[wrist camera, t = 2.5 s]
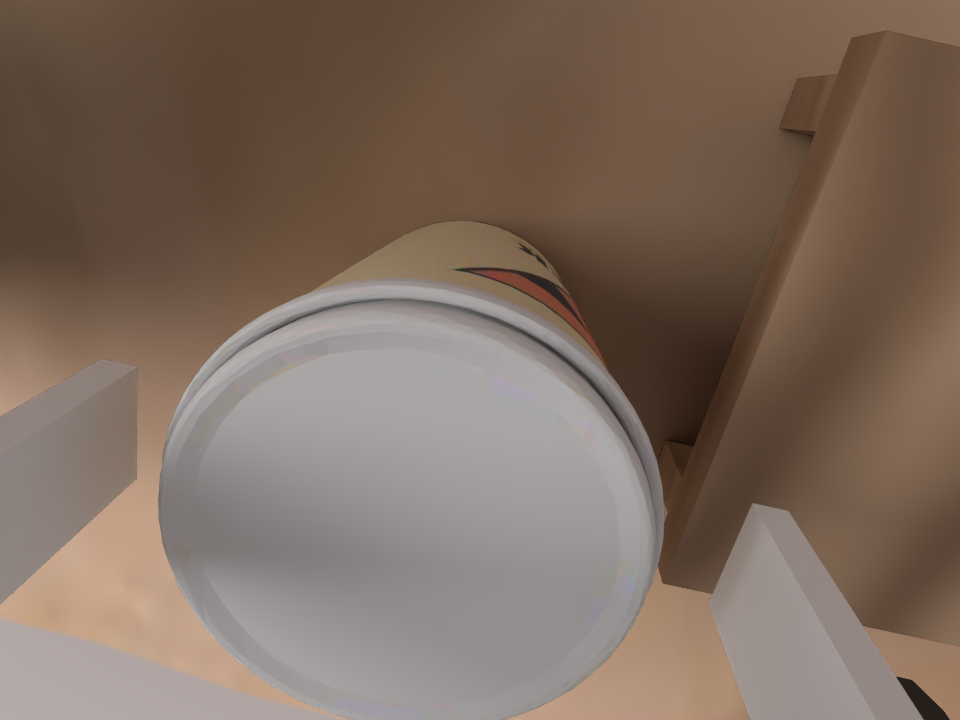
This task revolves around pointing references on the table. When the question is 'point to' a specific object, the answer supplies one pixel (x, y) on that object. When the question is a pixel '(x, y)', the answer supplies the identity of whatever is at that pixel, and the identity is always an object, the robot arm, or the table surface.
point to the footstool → (848, 354)
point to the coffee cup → (415, 487)
